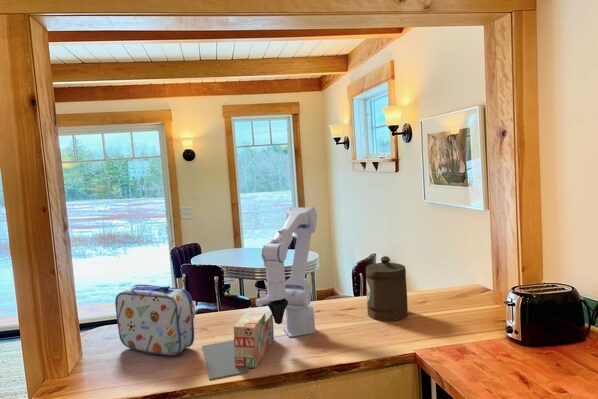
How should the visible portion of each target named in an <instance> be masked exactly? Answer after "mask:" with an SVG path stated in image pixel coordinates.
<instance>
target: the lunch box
mask: <svg viewBox="0 0 598 399" xmlns="http://www.w3.org/2000/svg"><path fill="white" fill-rule="evenodd" d="M114 302H115V303H114V305H115V314H116V322H117V323H116V324H117V329H118V336H119V340H120V342H121V343H122V344H123V345H124V346H125V347H127V348H130V349H132V350H135V351H140V352H142V353H146V354H148V355H149V354H150V355H151V354H153V355H154V354H155V355H161V356H171V357H175V356H177V355H180V354H181V353H182V352H183V351H184V350H185V349H186V348H189V347H191V346H192V345H193V344H194V340H195V325H194V320H195V316H196V315H197V311H196V309H195V306H194V303H193V297H192V295H191V294H190V292H189V291H187V290H186V289H185V288H180V287H171V286H170V285H168V286H161V285H160V286H158V285H151V284H150V285H149V284H135V285H133V286H132V287H130V288H128V289H126V290H123V291H121V292H119V293H118V294H117V295H116V297H115V301H114Z"/></svg>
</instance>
